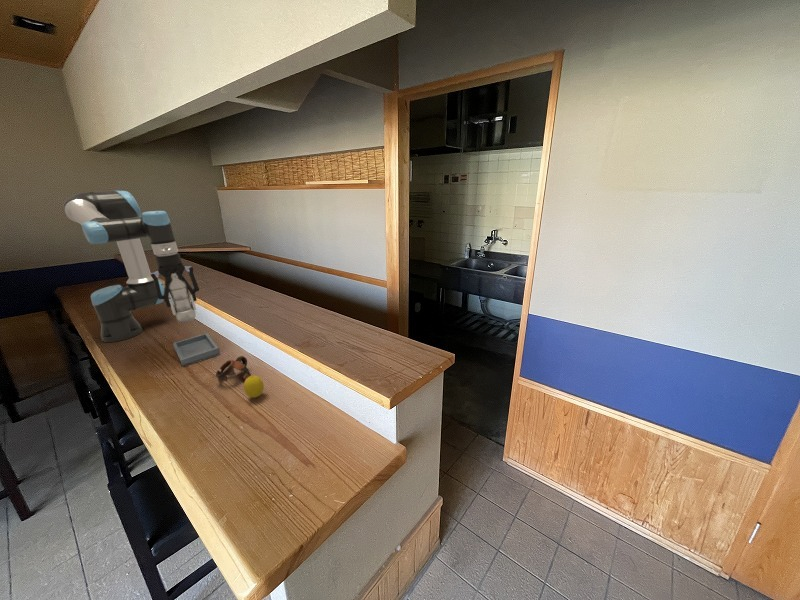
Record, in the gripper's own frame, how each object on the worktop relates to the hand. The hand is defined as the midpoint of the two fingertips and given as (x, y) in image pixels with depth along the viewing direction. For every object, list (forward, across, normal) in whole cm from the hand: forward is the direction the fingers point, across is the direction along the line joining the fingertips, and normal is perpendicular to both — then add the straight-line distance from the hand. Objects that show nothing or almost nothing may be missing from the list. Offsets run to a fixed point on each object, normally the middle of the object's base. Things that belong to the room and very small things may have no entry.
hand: (184, 311), depth 126 cm
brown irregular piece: (+19, +6, -33) cm, 39 cm away
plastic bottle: (+4, 0, 0) cm, 4 cm away
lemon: (+18, +8, -50) cm, 54 cm away
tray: (+18, 0, 0) cm, 18 cm away
